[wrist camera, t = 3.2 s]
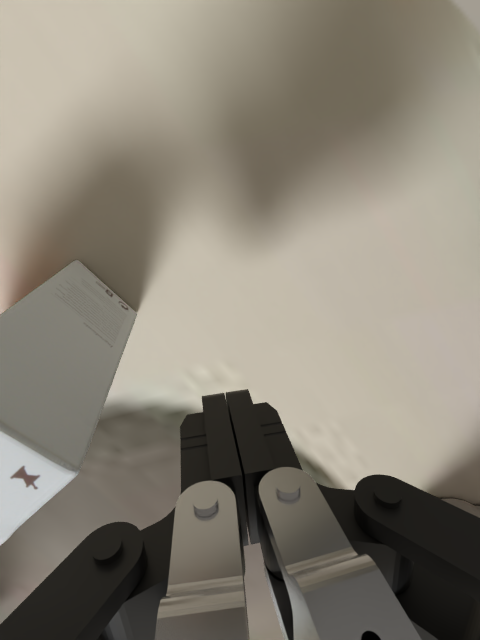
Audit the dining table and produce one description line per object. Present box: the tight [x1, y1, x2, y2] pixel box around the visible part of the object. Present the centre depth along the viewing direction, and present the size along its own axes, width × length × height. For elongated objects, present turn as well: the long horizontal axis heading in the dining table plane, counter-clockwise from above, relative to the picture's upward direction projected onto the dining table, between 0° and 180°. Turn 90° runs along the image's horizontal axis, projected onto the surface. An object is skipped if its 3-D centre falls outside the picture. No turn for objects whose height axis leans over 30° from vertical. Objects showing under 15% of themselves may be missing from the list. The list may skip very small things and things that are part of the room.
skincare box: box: [0, 260, 137, 545], centre depth 14 cm, size 6×4×12 cm
